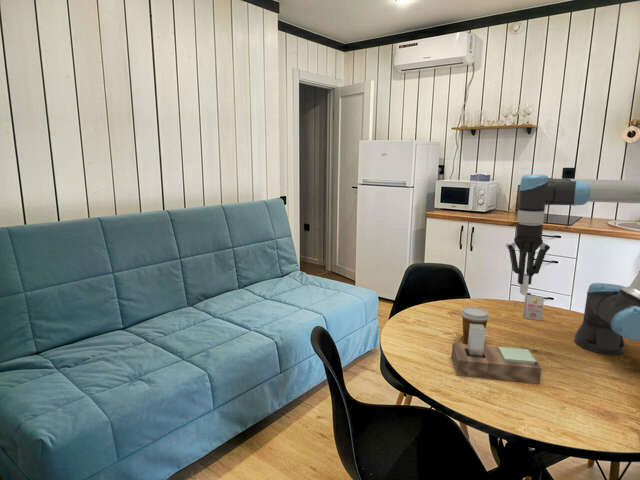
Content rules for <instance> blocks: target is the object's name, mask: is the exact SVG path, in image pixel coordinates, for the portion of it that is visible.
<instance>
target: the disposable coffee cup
mask: <svg viewBox="0 0 640 480" xmlns="http://www.w3.org/2000/svg"><path fill="white" fill-rule="evenodd" d="M460 314H461V316H462V317H461V318H462V339H463V340H462V342H463V344H468V338H469V328H470V324H480V325H483V326H484V328H485V329H486V328H487V324H488V320H489V319H490V314H489V312H488V311H487V310H486V309H483V308H482V307H481V308H480V307H476V306H466V307H464V308H463V309H462V310H461V313H460Z"/></svg>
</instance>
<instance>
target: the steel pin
mask: <svg viewBox="0 0 640 480" xmlns="http://www.w3.org/2000/svg"><path fill="white" fill-rule="evenodd" d="M486 330H487V329H486V328H484V326H483V325H480V324H470V328H469V338H468V348H467V356H469V357H479V358H483V350H484V346H485V338H486V332H487V331H486Z"/></svg>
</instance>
